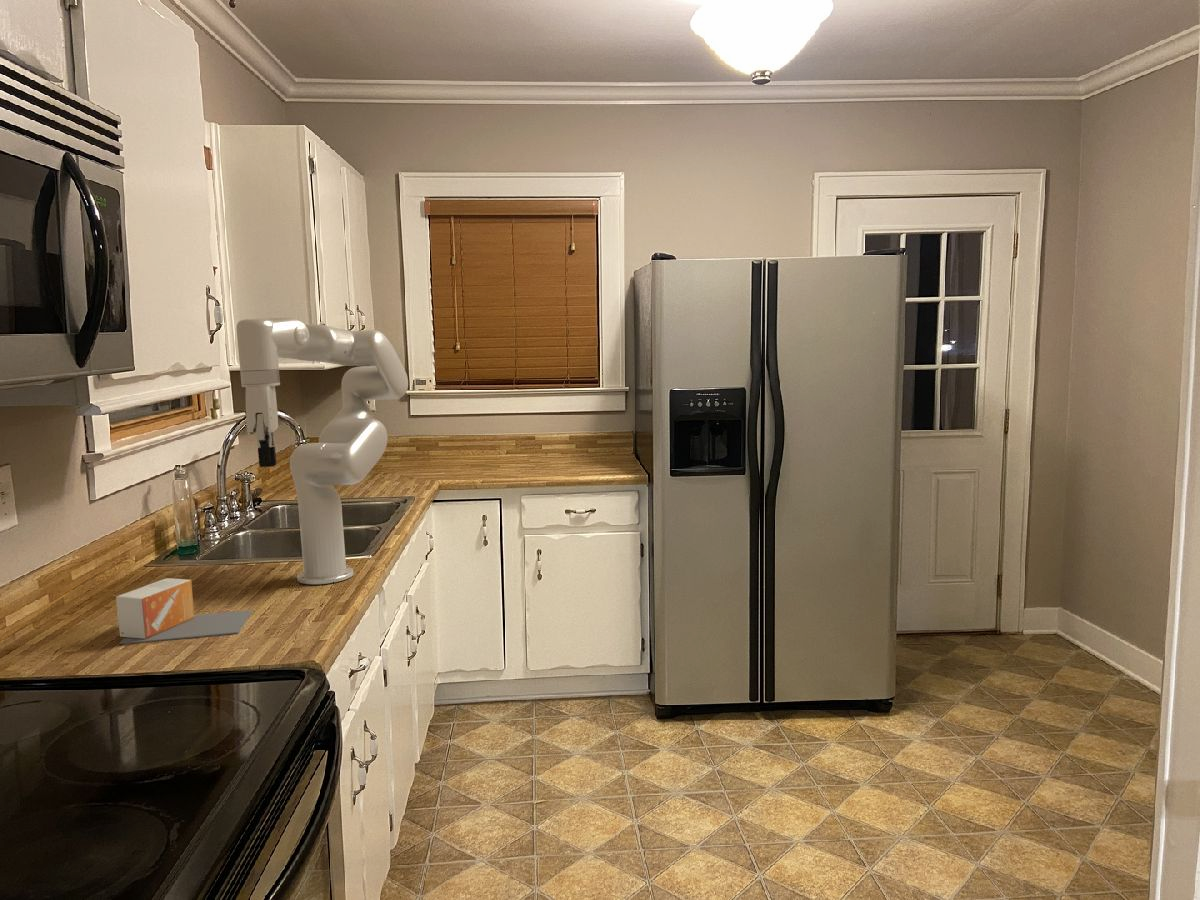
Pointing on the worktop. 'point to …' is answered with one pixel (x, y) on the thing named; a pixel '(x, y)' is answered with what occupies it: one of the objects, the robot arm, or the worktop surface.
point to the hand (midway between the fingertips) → (268, 465)
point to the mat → (200, 627)
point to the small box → (154, 608)
